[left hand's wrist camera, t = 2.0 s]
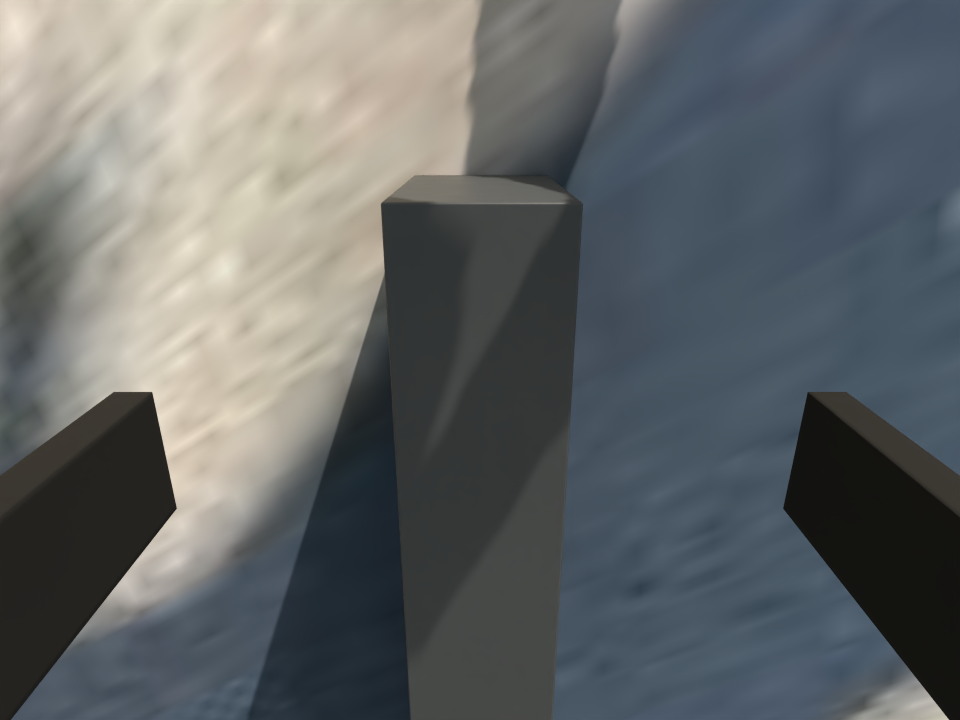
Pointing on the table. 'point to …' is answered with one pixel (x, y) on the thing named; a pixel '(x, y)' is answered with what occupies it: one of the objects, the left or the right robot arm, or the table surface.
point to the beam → (481, 433)
